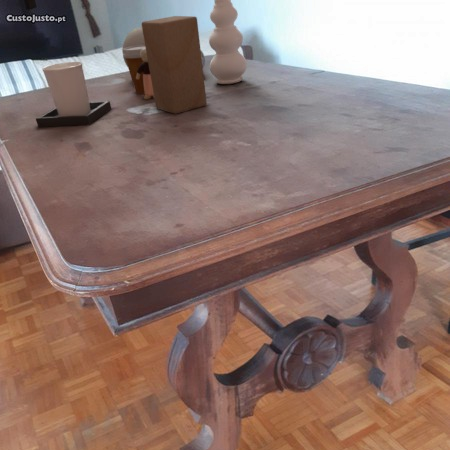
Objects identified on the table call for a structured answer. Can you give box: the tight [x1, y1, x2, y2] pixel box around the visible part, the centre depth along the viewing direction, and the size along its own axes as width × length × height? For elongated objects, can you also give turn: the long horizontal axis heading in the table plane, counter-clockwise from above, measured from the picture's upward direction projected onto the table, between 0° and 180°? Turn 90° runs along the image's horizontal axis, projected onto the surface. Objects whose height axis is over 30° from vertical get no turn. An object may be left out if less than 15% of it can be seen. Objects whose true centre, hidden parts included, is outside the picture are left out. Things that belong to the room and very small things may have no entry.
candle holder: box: [42, 61, 91, 116], centre depth 122 cm, size 10×10×12 cm
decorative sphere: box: [122, 26, 145, 68], centre depth 157 cm, size 15×15×15 cm
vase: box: [208, 0, 248, 85], centre depth 135 cm, size 11×11×25 cm
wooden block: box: [141, 15, 207, 115], centre depth 118 cm, size 10×10×20 cm
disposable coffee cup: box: [122, 45, 146, 95], centre depth 140 cm, size 10×10×12 cm
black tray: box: [35, 100, 112, 128], centre depth 125 cm, size 14×14×2 cm
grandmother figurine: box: [136, 48, 155, 100], centre depth 133 cm, size 8×4×13 cm, turn 112°
